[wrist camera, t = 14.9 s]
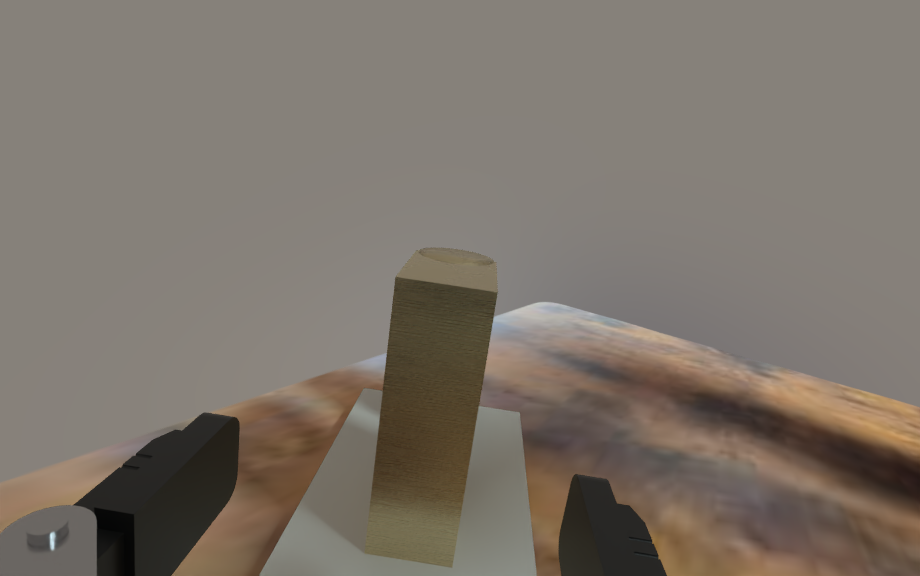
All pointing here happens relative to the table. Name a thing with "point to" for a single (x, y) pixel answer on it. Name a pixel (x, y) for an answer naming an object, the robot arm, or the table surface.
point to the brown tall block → (430, 403)
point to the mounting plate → (349, 493)
